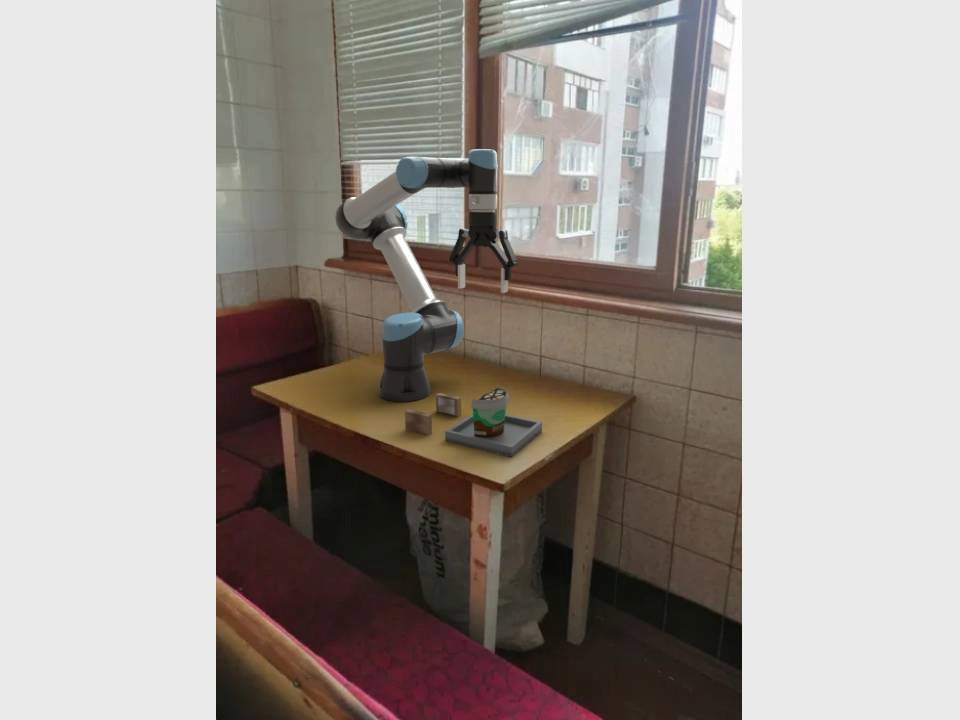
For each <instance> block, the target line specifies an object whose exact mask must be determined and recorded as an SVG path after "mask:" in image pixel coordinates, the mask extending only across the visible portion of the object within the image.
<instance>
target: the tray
mask: <svg viewBox="0 0 960 720" xmlns="http://www.w3.org/2000/svg"><path fill="white" fill-rule="evenodd" d="M541 431H542V432H543V421H538V420H535V419H529V418H524V417H521V416H515V415H510V414H507V413H505V424H504V432H503V433H502V434H501V435H499V436H496V437H491V438H480V437H475V436H474V421H473V413H471V414H470V415H469V416H467V417H465V418H463V420H460V421H459V422H457V423H456V424H454V425H453V426H451V427H449V428H448V429H447V430H445V431H444V432H445V434H444V435H445V438H444V440H445V442H449V443H453V444H456V445H460V446H465V447H467V448H468V447H469V448H473V449H477V450H480V449H481V450H480V451H484V450H486V451H485V452H488V451H490V452H489V453H492V452H494V453H493V454H496V453H499V454H498V455H500V454H503V455H502V456H504V455H507V456H506V457H508V456H511V457H510V458H513V457H514V456H515V455H516V454H517V453H518V452H519V451H521V450H522V449H523V448H524V447H525V446H527V445H528V444H529V443H530V442H531V441H533V438H534V437H535V436H536V437H537V436H539V435H540V434H541V433H542V432H541ZM540 432H541V433H540ZM536 437H535V438H536ZM535 438H534V439H535ZM530 440H531V441H530ZM529 441H530V442H529ZM528 442H529V443H528ZM527 443H528V444H527ZM526 444H527V445H526ZM524 445H525V446H524ZM523 446H524V447H523ZM522 447H523V448H522ZM521 448H522V449H521ZM520 449H521V450H520ZM517 451H518V452H517ZM515 453H516V454H515ZM514 454H515V455H514ZM513 455H514V456H513Z"/></svg>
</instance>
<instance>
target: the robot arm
mask: <svg viewBox="0 0 960 720" xmlns="http://www.w3.org/2000/svg"><path fill="white" fill-rule="evenodd" d="M498 168H499V166H498V153H497V152H496V150H494V149H489V148H488V149H486V148H485V149H484V148H483V149H481V148H478V149H470V150H469V151H468V156H467V158H451V157H448V158H447V157H426V156H425V157H424V156H417V155H416V156H406V157H402V158H401V159H400V160H399V161H398V164H397V165H396V168H395V171H394V172H392V173H391V174H389V175H388V176H387V177H385V178H384V179H382V180H381V181H379V182H378V183H376V184H374V185H373V186H371V187H370V188H369V189H367V190H366V191H364V192H362V194H360V195H358V196H351V197H349V198H347V199H346V200H344V201H343V202H342V203H341V204H340V205H339V206H338V207H337V209H336V212H335V224H336V227H337V229H338V230H339V231H340V233H342V234H343V235H344V236H345V237H347V238H348V239H349V238H350V239H352V240H370V242H371V244H372V246H373V248H374V249H375V250H379V251H381V253H382V255H383V257H384V259H385V261H386V263H387V265H388V267H389V269H390V271H391V273H392V275H393V277H394V279H395V281H396V282H397V285H398V286H399V288H400V291H401V292H402V294H403V296H404V299H405V300H406V302H407V304H408V306H409V308H410V309H411V312H410V311H409V312H404V313H403V312H402V313H396V314H393V315H391V316H388V317H387V318H385V320H384V321H383V323H382V330H381V331H382V332H381V337H382V351H383V371H382V376H381V379H380V382H379V386H378V392H379V393H378V395H379V396H380V398H382V399H384V400H386V401H391V402H399V403H401V402H412V401H414V402H415V401H419V400H423V399H424V398H426V397H428V396H429V395H430V394H431V384H430V382H429V379H428V376H427V373H426V370H425V364H424V359H425V358H424V356H426V355H430V354H431V355H432V354H434V353H438V352H441V351H449V350H450V349H452V348H455V347H457V346H458V345H459V344H460V343H461V341H462V339H463V337H464V331H465V328H464V322H463V317H462V316H461V314H460V313H459V312H458V311H457V310H456V311H455V310H453V309H448V307H447V305H446V303H445V302H444V300H441V299H438V298H437V295H435V292H434V291H433V289H432V287H431V285H430V283H429V281H428V279H427V277H426V276H425V273H424V272H423V269H422V268H421V266H420V264H419V262H418V261H417V258H416V257H415V254H414V252H413V251H412V249H411V247H410V245H409V243H408V241H407V240H406V236H407V228H408V222H407V220H408V218H407V217H408V216H407V214H406V210H405V209H403V207H402V206H401V205H400V203H402V202H404V201H406V200H407V199H408V198H410V197H412V196H414V195H415V194H417V193H419V192H420V191H422V190H424V189H428V188H429V189H430V188H432V189H433V188H434V189H435V188H436V189H438V188H443V189H444V188H447V189H455V188H458V189H459V188H468V209H469V210H470V211H469V213H468V225H469V229H467V228H459V229H458V233H457V234H458V236H457V239H456V241H455V244H454V245H453V249H452V251H451V254H450V256H449V258H448V261H449V263H453V264H454V267H455V268H454V269H455V270H454V271H455V276H456V277H457V289H458V290H460V289H464V288H466V264H464V262H465V260H466V259H467V258H468V256H469V255H470V254H471V252H472V251H473V250H474V248H475V247H483V248H487V247H488V248H489V249H490V250H491V251H492V252H493V254H494V255H495V256H496V258H497V260H498V261H499V263H500V264H501V265H502V268H500V293H501V294H505V293H507V292H508V291H509V281H510V280H512V269H513V267H516V266H518V264H519V262H518V259H517V257H516V254H515V252H514V249H513V248H512V246H511V243H510V241H509V235H508V230H506V229H502V230H498V229H497V224H498V223H497V222H498V213H497V212H496V210H497V209H498ZM467 237H469V238H470V239H469V240H468V242H467V243H466V240H467ZM497 238H498V239H499V242H500V244H501V246H502V248H501V247H500V246H499V243H498V241H497V240H496V239H497ZM465 243H466V245H465ZM464 245H465V247H464ZM463 247H464V248H463ZM462 249H463V250H462ZM502 249H503V250H502Z"/></svg>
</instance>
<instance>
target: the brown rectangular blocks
mask: <svg viewBox="0 0 960 720" xmlns="http://www.w3.org/2000/svg"><path fill="white" fill-rule="evenodd" d="M435 402H436V404H435V405H436V407H435V409H436V410H435V411H436V412H437V413H440V414H443V415H444V414H445V415H448V416H452V417H453V416H454V417H460V416H462V397H460V396H455V395H451V394H446V393H441V392H438V393H436V394H435ZM432 419H433V417H432V414H431V413H427V412H423V411H419V410H414V409H411V408H408V409H406V410H405V411H404V422H405V424H404V426H405V430H406V431H410V432H414V433H419V434H421V435H422V434H423V435H426V436H429V435H431V434H433V424H432V423H433V421H432Z"/></svg>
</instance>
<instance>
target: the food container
mask: <svg viewBox="0 0 960 720" xmlns="http://www.w3.org/2000/svg"><path fill="white" fill-rule="evenodd" d="M471 399H472V401H471V405H470V406H471V407H470V408H471V409H472V414H473V421H474V436H475V437H480V438H491V437H496V436H499V435H501V434H502V433H503V432H504V424H505V414H507V413H506V412H507V405H508V404H509V402H510V398H509V393H508V391H507V390H506V389H505V388H504V387H502V386H498V385H495V388H494V389H493V390H492V391H490V392H488V393H485V394H483V395H482V396H481V397H480V398H479V399H474V398H471Z"/></svg>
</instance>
